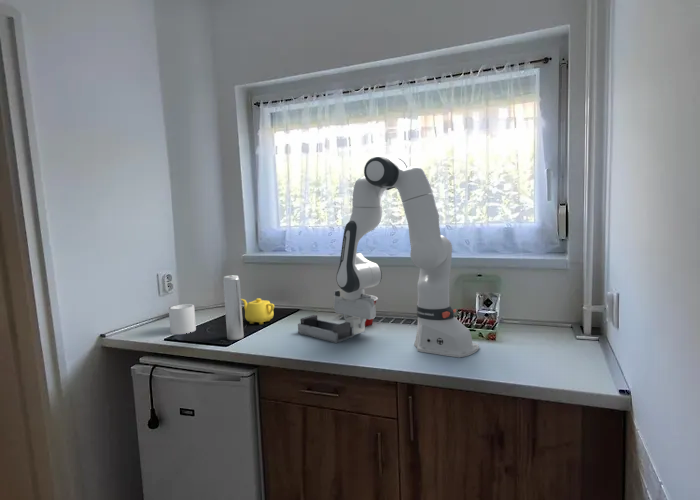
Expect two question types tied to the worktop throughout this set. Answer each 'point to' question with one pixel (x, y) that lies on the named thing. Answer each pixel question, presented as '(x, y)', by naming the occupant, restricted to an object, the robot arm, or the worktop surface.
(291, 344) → the worktop surface
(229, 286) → the silver cylinder
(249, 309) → the teapot
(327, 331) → the grey rectangular tray
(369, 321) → the plastic cup
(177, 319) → the mug
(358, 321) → the block
